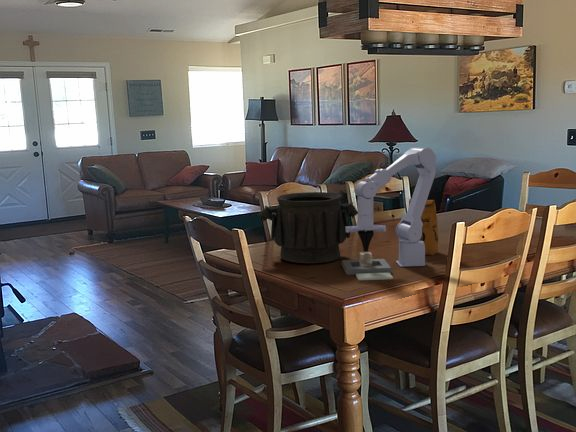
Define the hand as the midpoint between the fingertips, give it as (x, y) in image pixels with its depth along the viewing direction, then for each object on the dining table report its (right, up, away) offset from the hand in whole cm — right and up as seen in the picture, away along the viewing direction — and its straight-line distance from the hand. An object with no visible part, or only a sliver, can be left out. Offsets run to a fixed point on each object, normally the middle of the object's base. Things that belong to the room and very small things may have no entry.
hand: (365, 251), depth 234 cm
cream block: (0, -7, +1) cm, 7 cm away
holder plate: (0, -7, +1) cm, 7 cm away
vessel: (-20, -4, +21) cm, 29 cm away
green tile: (+2, -9, -10) cm, 13 cm away
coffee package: (+26, -2, +25) cm, 36 cm away
